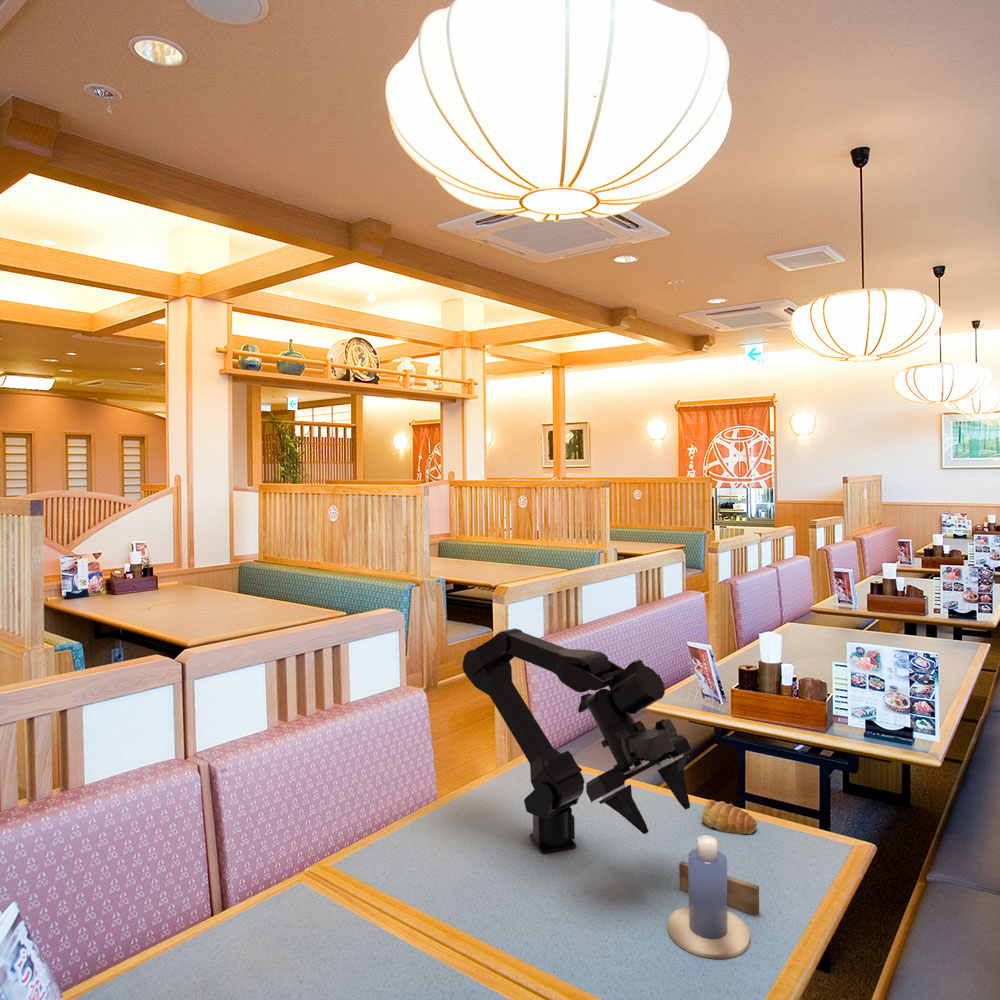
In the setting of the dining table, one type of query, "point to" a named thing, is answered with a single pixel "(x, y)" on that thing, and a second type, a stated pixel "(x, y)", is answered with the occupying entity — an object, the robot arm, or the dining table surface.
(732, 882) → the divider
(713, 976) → the dining table surface
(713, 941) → the disc
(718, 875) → the soy bottle
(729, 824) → the pastry
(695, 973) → the dining table surface
